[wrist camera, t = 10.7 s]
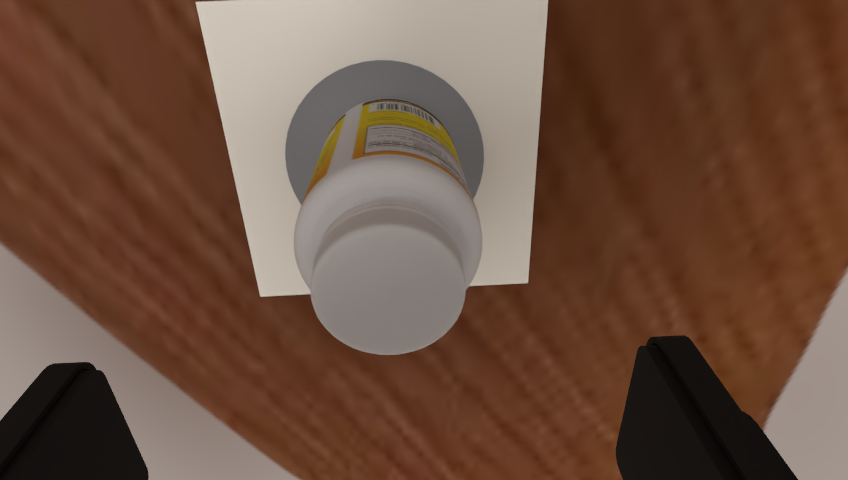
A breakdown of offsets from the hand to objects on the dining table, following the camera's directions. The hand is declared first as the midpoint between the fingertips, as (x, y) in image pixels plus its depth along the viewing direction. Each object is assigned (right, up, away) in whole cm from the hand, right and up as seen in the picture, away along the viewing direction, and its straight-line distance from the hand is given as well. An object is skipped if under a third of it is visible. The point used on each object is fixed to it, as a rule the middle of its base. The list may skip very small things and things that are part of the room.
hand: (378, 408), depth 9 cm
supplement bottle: (-1, +7, +13) cm, 15 cm away
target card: (-1, +7, +13) cm, 15 cm away
